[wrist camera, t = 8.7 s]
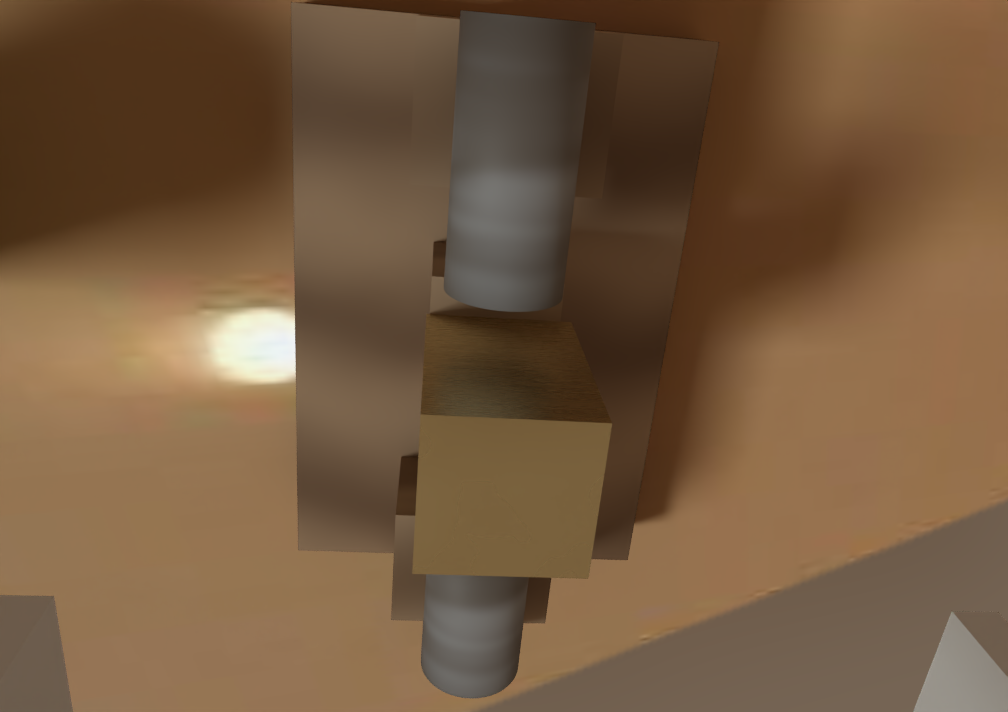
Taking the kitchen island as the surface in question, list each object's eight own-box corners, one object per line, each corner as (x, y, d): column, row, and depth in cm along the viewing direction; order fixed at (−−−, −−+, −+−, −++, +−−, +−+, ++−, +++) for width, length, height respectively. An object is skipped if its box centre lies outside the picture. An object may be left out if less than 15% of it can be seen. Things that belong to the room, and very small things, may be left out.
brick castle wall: (302, -5, 24) (234, -11, 16) (700, 32, 25) (816, 43, 17) (306, 522, 31) (260, 695, 23) (616, 532, 32) (671, 700, 24)
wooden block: (426, 313, 22) (420, 414, 17) (571, 322, 23) (612, 423, 17) (419, 442, 24) (412, 573, 18) (555, 448, 24) (588, 578, 19)
